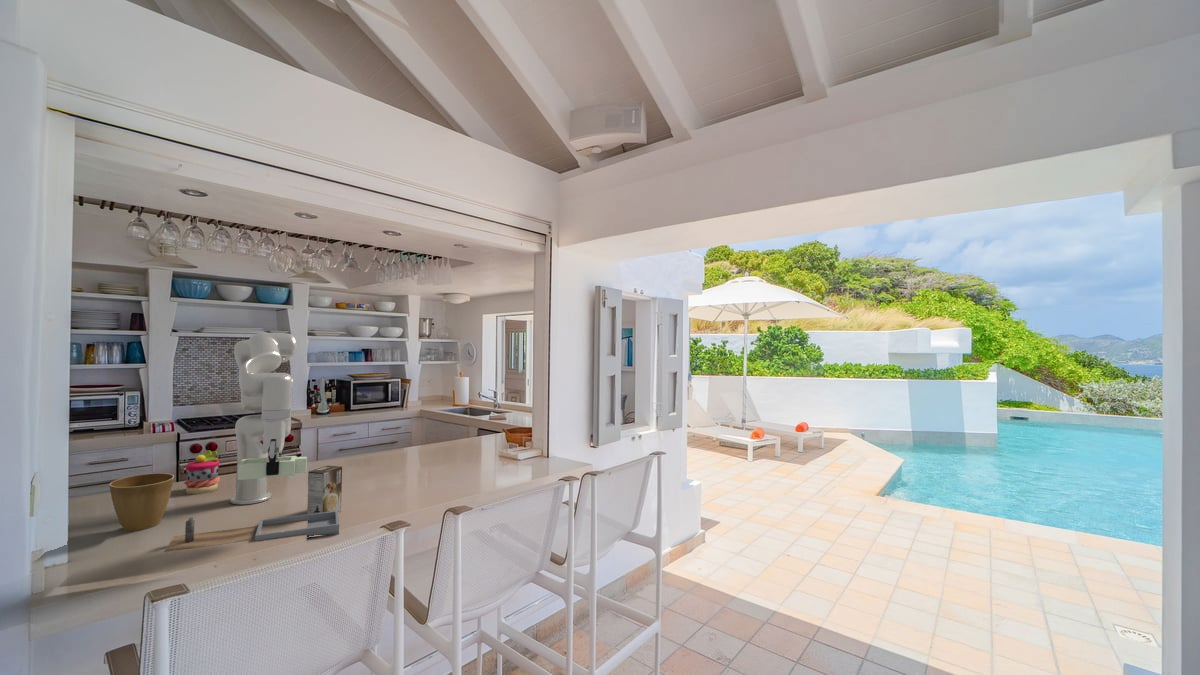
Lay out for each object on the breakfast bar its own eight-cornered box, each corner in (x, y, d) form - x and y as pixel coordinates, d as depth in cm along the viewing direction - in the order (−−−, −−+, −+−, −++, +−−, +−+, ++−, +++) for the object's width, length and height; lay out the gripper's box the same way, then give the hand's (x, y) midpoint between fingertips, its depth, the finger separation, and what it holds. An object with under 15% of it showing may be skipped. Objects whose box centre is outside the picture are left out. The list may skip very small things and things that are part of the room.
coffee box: (326, 509, 179) (327, 464, 179) (341, 511, 178) (343, 466, 178) (306, 518, 170) (308, 471, 170) (322, 520, 169) (324, 472, 169)
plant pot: (112, 527, 157) (114, 476, 157) (174, 519, 165) (176, 470, 166) (102, 544, 145) (104, 489, 145) (169, 533, 153) (171, 482, 154)
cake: (209, 494, 192) (211, 455, 192) (178, 495, 189) (179, 455, 189) (224, 486, 202) (225, 449, 202) (194, 487, 200) (195, 449, 200)
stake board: (174, 541, 148) (175, 514, 148) (255, 530, 158) (256, 505, 158) (163, 557, 138) (164, 528, 138) (251, 545, 147) (252, 518, 147)
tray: (260, 529, 159) (260, 519, 159) (337, 519, 170) (338, 510, 170) (254, 545, 147) (255, 535, 147) (338, 533, 158) (339, 524, 158)
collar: (241, 473, 154) (242, 459, 154) (306, 468, 162) (307, 454, 162) (237, 480, 148) (237, 464, 148) (305, 474, 156) (305, 460, 156)
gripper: (265, 411, 161) (263, 466, 161) (257, 419, 146) (255, 480, 145) (292, 410, 165) (290, 464, 164) (287, 418, 149) (285, 477, 149)
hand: (274, 471), depth 155 cm, fingers closed on collar, 7 cm apart
